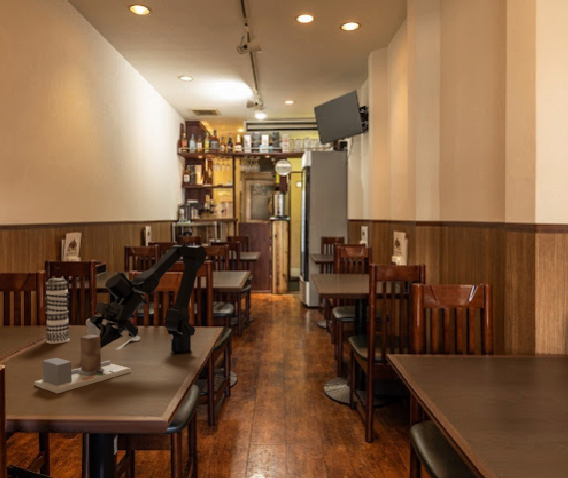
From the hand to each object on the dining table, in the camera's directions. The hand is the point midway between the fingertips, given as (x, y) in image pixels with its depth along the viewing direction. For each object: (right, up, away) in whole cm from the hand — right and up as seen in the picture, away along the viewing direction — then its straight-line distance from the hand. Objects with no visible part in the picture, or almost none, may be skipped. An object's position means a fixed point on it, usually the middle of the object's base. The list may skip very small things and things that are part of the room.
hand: (97, 348), depth 155 cm
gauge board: (-3, -8, -3) cm, 9 cm away
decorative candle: (-33, -7, +46) cm, 57 cm away
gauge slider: (0, -7, -2) cm, 7 cm away
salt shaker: (-10, -8, +23) cm, 27 cm away
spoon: (-3, -8, +39) cm, 40 cm away
